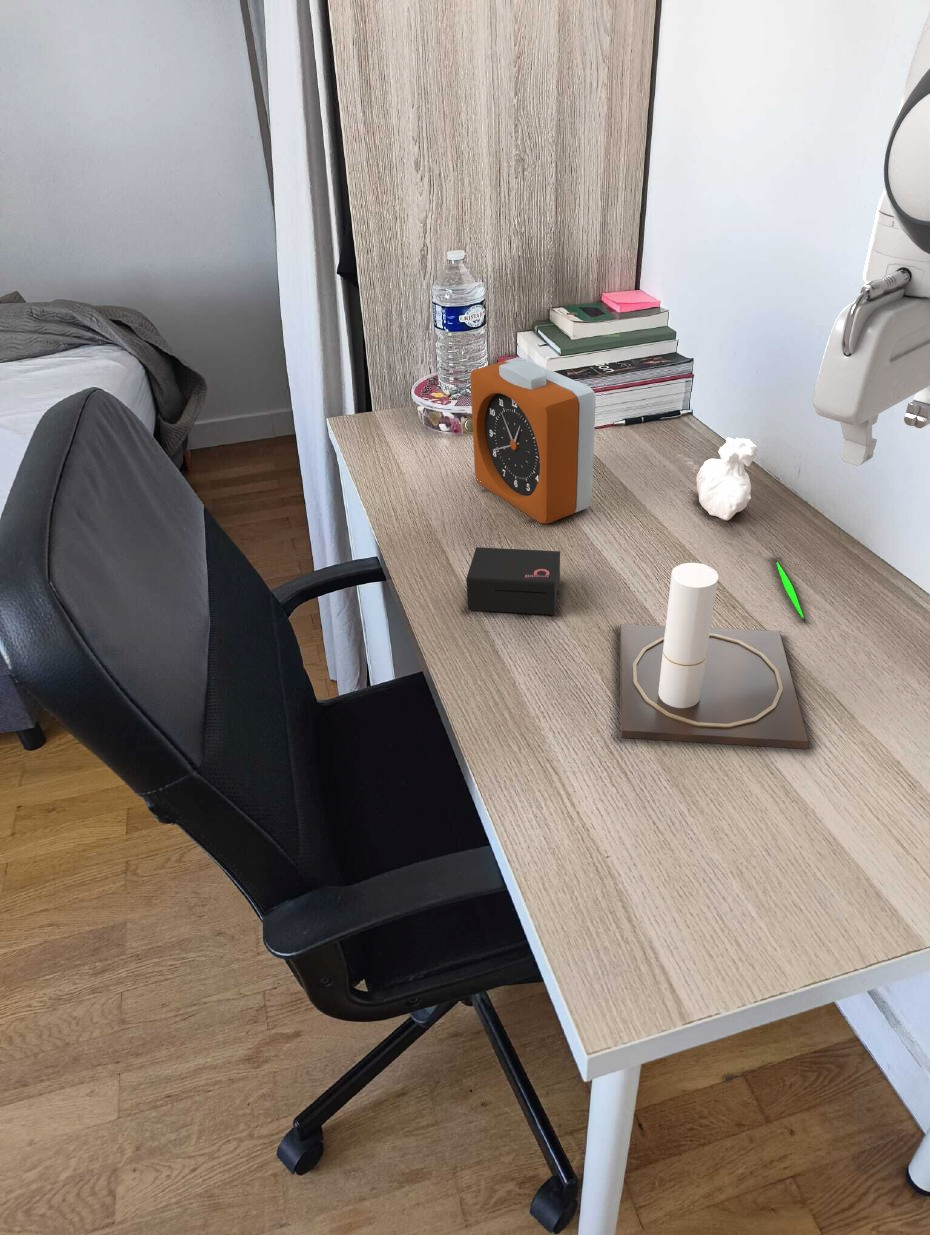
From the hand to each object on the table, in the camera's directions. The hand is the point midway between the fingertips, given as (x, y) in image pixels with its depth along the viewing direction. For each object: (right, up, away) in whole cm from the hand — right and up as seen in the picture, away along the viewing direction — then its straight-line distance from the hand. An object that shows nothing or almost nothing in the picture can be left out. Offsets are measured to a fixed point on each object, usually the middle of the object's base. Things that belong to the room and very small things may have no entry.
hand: (887, 441), depth 66 cm
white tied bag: (+4, +2, +56) cm, 56 cm away
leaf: (+7, -11, +38) cm, 40 cm away
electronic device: (-27, -11, +40) cm, 49 cm away
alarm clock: (-23, +4, +61) cm, 66 cm away
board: (-7, -21, +25) cm, 33 cm away
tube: (-11, -22, +22) cm, 33 cm away
